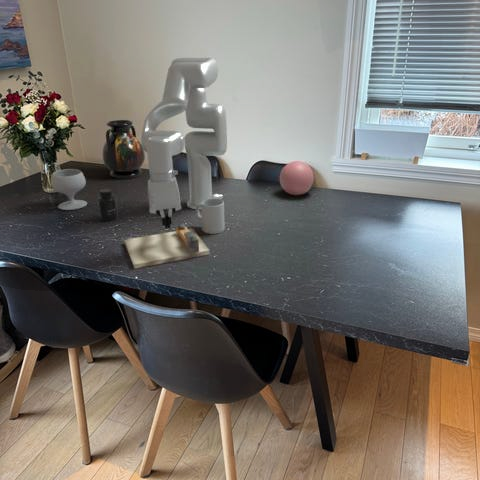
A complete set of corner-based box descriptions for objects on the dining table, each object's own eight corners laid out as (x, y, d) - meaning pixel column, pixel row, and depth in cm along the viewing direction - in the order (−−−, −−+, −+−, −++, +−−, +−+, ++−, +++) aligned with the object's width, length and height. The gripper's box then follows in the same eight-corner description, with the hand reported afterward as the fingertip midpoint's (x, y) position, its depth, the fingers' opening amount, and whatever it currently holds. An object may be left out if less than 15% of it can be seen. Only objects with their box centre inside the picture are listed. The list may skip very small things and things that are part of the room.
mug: (229, 228, 163) (228, 200, 158) (216, 235, 156) (215, 207, 152) (203, 221, 169) (202, 195, 164) (190, 229, 162) (188, 202, 158)
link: (174, 232, 155) (174, 227, 154) (185, 230, 157) (185, 225, 156) (186, 247, 144) (186, 242, 143) (197, 245, 145) (197, 240, 144)
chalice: (57, 213, 178) (50, 179, 172) (54, 203, 190) (47, 170, 183) (92, 208, 184) (86, 174, 178) (86, 198, 195) (81, 166, 189)
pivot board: (192, 232, 160) (191, 217, 157) (209, 254, 143) (209, 238, 141) (124, 243, 151) (122, 228, 149) (134, 268, 134) (132, 252, 132)
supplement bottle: (113, 222, 169) (109, 193, 164) (97, 221, 170) (93, 192, 165) (121, 216, 175) (117, 188, 170) (106, 215, 176) (101, 187, 171)
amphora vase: (125, 183, 215) (118, 127, 203) (96, 177, 226) (88, 123, 214) (155, 173, 232) (149, 120, 220) (127, 167, 242) (120, 117, 230)
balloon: (318, 188, 205) (321, 156, 198) (307, 201, 188) (309, 167, 182) (288, 184, 210) (289, 154, 204) (274, 197, 194) (275, 164, 187)
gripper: (182, 169, 143) (186, 219, 151) (137, 174, 139) (144, 225, 147) (186, 176, 136) (190, 228, 145) (139, 181, 133) (146, 234, 141)
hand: (167, 226), depth 146 cm, fingers closed
